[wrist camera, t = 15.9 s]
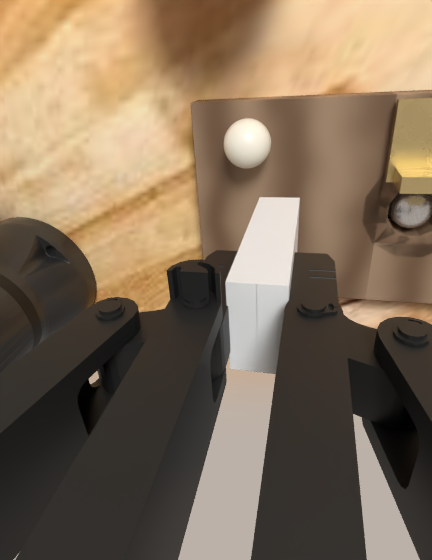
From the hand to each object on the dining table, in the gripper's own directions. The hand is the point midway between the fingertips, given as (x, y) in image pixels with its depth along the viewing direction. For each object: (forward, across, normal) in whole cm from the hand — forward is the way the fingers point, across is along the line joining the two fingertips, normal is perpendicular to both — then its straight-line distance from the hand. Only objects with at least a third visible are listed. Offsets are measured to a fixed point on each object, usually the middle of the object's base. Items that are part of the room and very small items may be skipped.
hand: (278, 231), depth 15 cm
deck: (+22, +4, -6) cm, 24 cm away
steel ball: (+21, +10, -6) cm, 24 cm away
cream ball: (+18, -4, 0) cm, 18 cm away
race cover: (+20, +10, 0) cm, 22 cm away
